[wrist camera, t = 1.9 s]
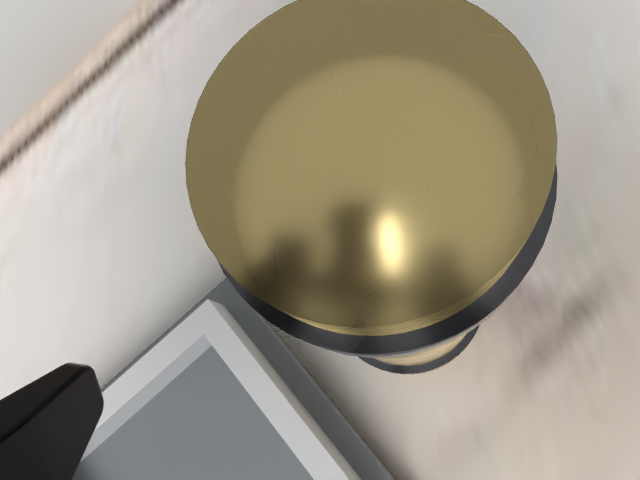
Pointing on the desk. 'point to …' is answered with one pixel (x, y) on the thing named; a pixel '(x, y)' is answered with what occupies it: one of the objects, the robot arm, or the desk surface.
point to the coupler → (375, 174)
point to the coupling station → (222, 408)
